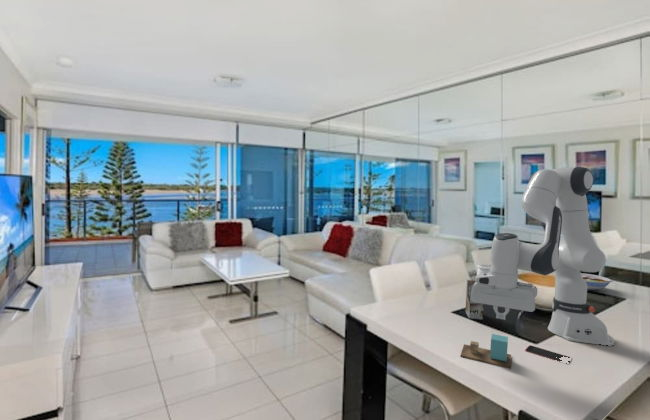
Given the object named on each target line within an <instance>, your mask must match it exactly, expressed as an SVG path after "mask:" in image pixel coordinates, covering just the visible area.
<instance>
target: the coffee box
mask: <svg viewBox="0 0 650 420" xmlns="http://www.w3.org/2000/svg"><path fill="white" fill-rule="evenodd" d="M475 282H476V279H475V280H474V279H473V280H471V279H466V288H465V289H466V292H465V293H466V295H465V313H466V315H467V318H469V319H473V320H483V319H484V307H485V306H484V305H485V304H482V303H476V302H472V300H471V292H472V288H473V285H474V283H475Z"/></svg>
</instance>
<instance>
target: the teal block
mask: <svg viewBox="0 0 650 420" xmlns="http://www.w3.org/2000/svg"><path fill="white" fill-rule="evenodd" d="M508 343H509V336H504V335H499V334H495V333H491V337H490V348H489V350H490V358H493V359H497V360H501V361H506V362H507V354H508V347H509V346H508V345H509V344H508Z"/></svg>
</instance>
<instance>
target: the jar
mask: <svg viewBox="0 0 650 420" xmlns="http://www.w3.org/2000/svg"><path fill="white" fill-rule="evenodd" d="M490 267H491V264H481V263H480V264H477V268H478V269H477V273H476V276H477V275H478V274H482V273H489V272H490Z"/></svg>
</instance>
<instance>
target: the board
mask: <svg viewBox="0 0 650 420" xmlns="http://www.w3.org/2000/svg"><path fill="white" fill-rule="evenodd" d="M479 346H480V345H479V342H478V341H473V340H470V345H469V344H465V343H464V344H463V347H462V349H461V353H460V358H465V359H469V360H474V361H478V362H481V363H486V364H490V365H494V366H498V367H503V368H507V369H510V370H511V369H512V354H509V353H507V362H506V361H501V360H497V359H493V358H490V349H487V348H484V347H483V348H482V347H479Z"/></svg>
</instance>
